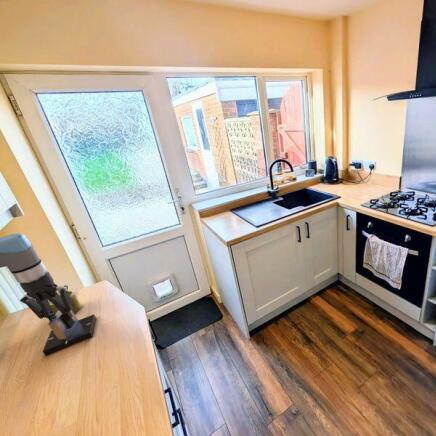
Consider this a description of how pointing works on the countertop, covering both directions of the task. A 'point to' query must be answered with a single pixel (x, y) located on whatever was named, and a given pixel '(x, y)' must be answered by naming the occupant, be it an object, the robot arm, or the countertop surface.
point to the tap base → (71, 336)
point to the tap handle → (62, 326)
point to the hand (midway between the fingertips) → (67, 326)
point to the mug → (74, 300)
